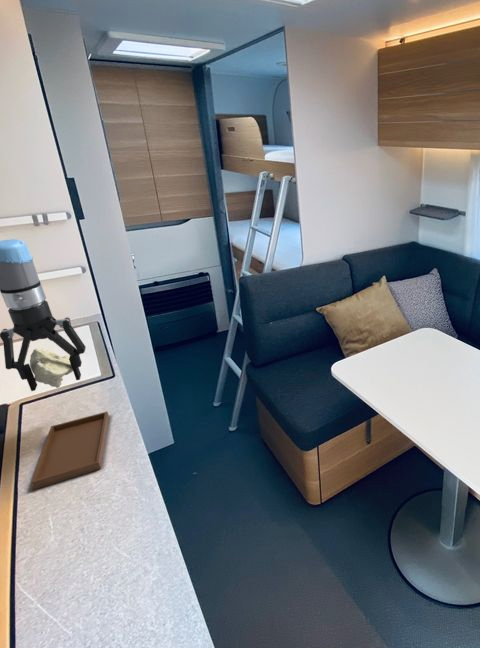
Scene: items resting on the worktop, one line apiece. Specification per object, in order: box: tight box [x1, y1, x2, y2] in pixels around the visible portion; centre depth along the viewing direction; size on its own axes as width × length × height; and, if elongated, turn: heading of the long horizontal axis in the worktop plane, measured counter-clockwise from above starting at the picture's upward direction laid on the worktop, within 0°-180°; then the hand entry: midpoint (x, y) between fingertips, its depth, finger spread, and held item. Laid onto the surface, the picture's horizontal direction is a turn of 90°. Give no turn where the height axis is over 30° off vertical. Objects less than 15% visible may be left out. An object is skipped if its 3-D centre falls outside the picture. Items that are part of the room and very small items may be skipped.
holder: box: [30, 411, 110, 490], centre depth 105 cm, size 13×21×2 cm, turn 26°
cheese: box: [29, 347, 73, 389], centre depth 107 cm, size 15×7×15 cm
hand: (57, 382), depth 107 cm, fingers closed on cheese, 9 cm apart
